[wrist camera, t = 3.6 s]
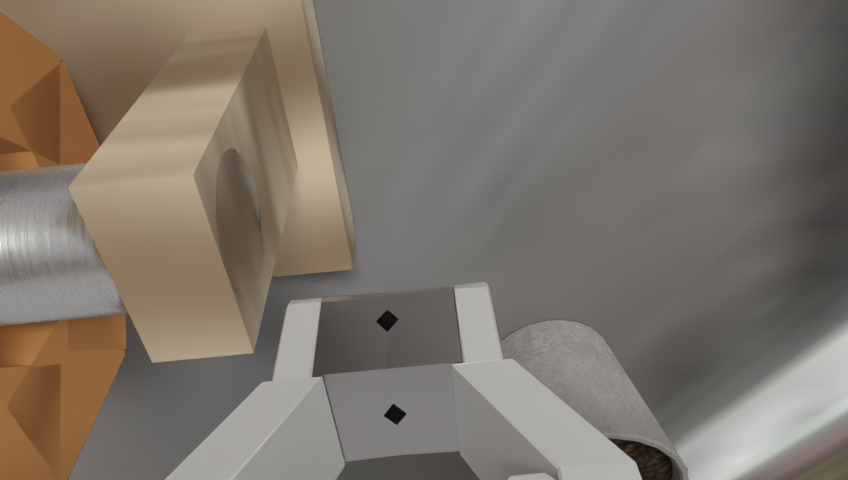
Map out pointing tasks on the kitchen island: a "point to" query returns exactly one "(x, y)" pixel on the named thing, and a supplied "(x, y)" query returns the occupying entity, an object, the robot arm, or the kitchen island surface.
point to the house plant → (596, 391)
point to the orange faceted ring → (53, 340)
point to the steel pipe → (57, 249)
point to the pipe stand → (201, 157)
